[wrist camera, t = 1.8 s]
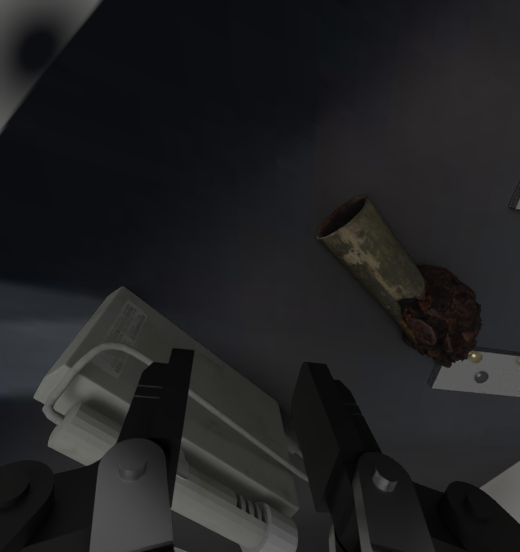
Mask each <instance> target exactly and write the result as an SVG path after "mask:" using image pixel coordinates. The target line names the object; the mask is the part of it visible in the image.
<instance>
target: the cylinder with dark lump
mask: <svg viewBox="0 0 520 552" xmlns="http://www.w3.org/2000/svg"><path fill="white" fill-rule="evenodd" d="M316 237H317V239H318V240H320V241H321V242H322V243H323V244H324V245H325V246H326V247H327V248H328V249H329V250H330V251H331V252H332V253H333V254H334V255H335V256H336V257H337V259H338V260H339V261H340V262H341V263H342V264H343V265H344V266H345V267H346V268H347V269H348V270H349V271H350V272H351V273H352V274H353V276H354V277H355V278H356V279H357V280H358V281H359V282H360V283H361V284H362V285H363V286H364V287H365V288H366V289H367V290H368V291H369V293H370V294H371V295H372V296H373V297H374V298H375V299H376V300H377V301H378V302H379V303H380V305H381V306H382V307H383V308H384V309H385V310H386V311H387V312H388V313H389V315H390V316H391V317H392V318H393V319H394V320H395V321H396V323H397V324H398V325H399V326H400V327H401V329H402V331H403V334H402V339H403V341H404V342H405V343H406V344H407V345H409V346H412V347H413V348H414V349H416V350H417V351H418V352H419V353H420V354H421V355H424V354H426V355H427V356H428V357H432V358H433V360H434V362H435V363H436V364H438V365H442V366H444V367H446V368H450V367H451V366H452V362H453V363H456V361H459V360H461V361H462V362H463V360H465V359H466V360H467V359H468V356H469V352H471V351H472V350H473V349H474V348H475V346H476V343H477V340H475V338H476V336H477V335H478V333H479V331H480V330H481V326H482V323H481V321H482V320H481V318H480V312H481V305H479V304H478V303H477V302H476V300H475V298H476V295H475V292H474V291H473V290H471V288H470V287H468V286H466V285H465V284H464V283H462V282H461V281H459V280H458V278H457V277H456V276H455V275H453V274H452V273H451V272H449V271H448V270H447V269H445V268H439V267H435V266H426V265H422V266H418V267H416V266H415V264H414V263H413V261H412V260H411V259H410V257H409V256H408V254H407V253H406V251H405V250H404V249H403V247H402V246H401V245H400V243H399V242H398V240H397V239H396V238H395V236H394V235H393V233H392V232H391V230H390V229H389V227H388V226H387V224H386V222H385V221H384V219H383V218H382V217H381V215H380V214H379V212H378V211H377V209H376V208H375V206H374V205H373V204H372V202H371V201H370V199H369V198H368V196H367V195H361V196H357V197H355V198H354V199H352V200H350V201H348V202H346V203H345V204H343V205H342V206H340V207H339V208H338V209H337V210H335V211H334V212H333V213H332V214H331V215H330V216H329V217H327V218H326V219H325V220H324V221H323V222H322V224H321V226H320V227H319V228H318V231H317V234H316Z"/></svg>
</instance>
